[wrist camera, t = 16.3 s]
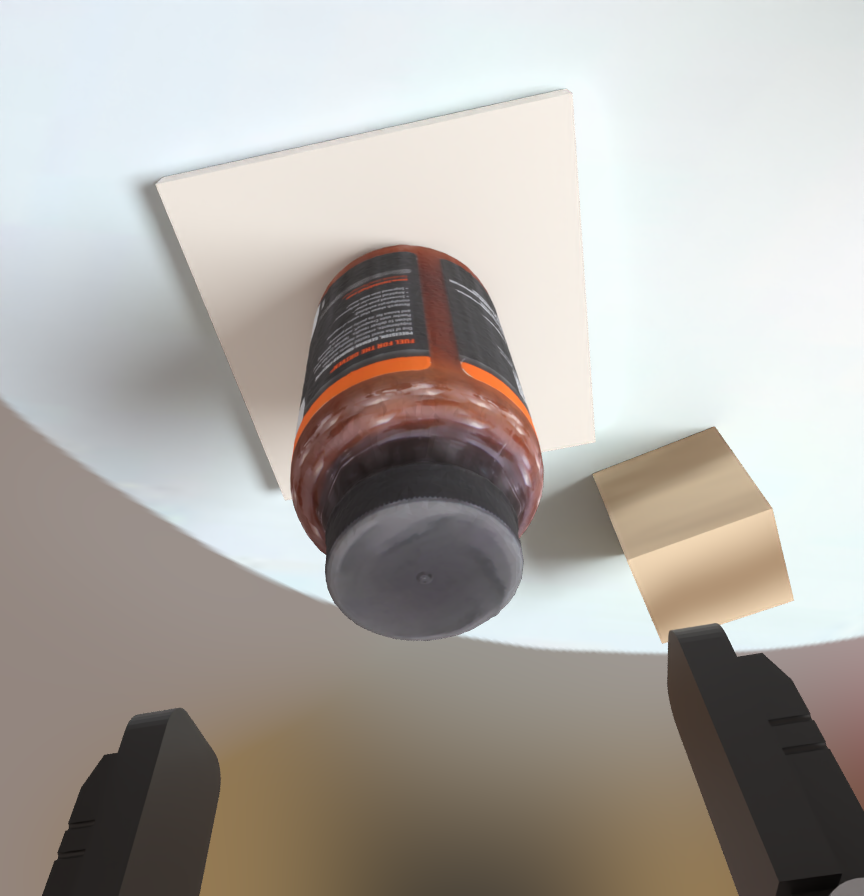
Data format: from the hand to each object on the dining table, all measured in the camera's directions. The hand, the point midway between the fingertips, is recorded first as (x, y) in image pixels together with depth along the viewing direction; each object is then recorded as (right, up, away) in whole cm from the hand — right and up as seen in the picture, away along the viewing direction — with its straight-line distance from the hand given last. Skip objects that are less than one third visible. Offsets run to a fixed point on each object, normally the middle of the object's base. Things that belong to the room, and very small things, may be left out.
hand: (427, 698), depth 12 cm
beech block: (+10, +2, +17) cm, 20 cm away
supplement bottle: (-1, +8, +12) cm, 14 cm away
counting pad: (-1, +8, +12) cm, 15 cm away
